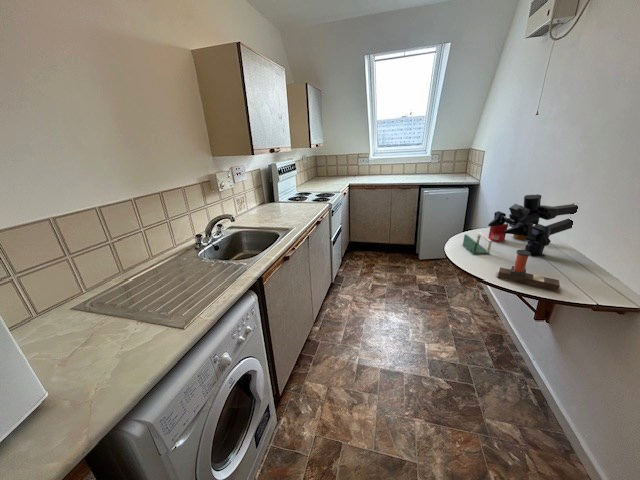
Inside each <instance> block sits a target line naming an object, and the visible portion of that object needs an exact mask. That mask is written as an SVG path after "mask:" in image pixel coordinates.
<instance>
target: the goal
mask: <svg viewBox="0 0 640 480" xmlns="http://www.w3.org/2000/svg"><path fill="white" fill-rule="evenodd" d="M481 238H482V239H484V240H485V241H486V242H487V246H486V248H484V246H482V245H481V244H480V240H481ZM492 243H493V241H492V240H490V239H489V238H488V236H486V235H485V234H483V233H482V232H480V231H479V232H477V235H476V239H473V238H472V237H471V236H469V235H468V234H465V233H464V236H463V242H462V246H463V247H464V248H465V249H466V250H468V251H469V252H470V253H471V254H472V255H490V253H491V247H492Z"/></svg>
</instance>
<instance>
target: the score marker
mask: <svg viewBox="0 0 640 480" xmlns="http://www.w3.org/2000/svg"><path fill="white" fill-rule="evenodd" d="M516 254H517V255H516V258H515V262H514V265H511V268H510V269H511V273H510V275H515V276H519V277H523V278H525V276H526V273H527V268H526V265H527V262H528V259H529V257H530V256H531V255H530V254H531V253H530V252H529V251H526V250H525V249H517V250H516Z"/></svg>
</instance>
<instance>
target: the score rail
mask: <svg viewBox="0 0 640 480" xmlns="http://www.w3.org/2000/svg"><path fill="white" fill-rule="evenodd" d="M510 273H511V268H506V267H499V270H498V274H497V279H500V280H506V281H508V282H509V281H510V282H513V283H518V284H521V285H525V286H526V285H527V286H530V287H533V288H534V287H535V288H538V289H542V290H547V291H551V292H555V293H558V292H559V289H560V287H561V285H560V283H561V282H560V280H559V279H556V278H551V277H546V276H543V275H540V274H534V273H529V272H526V276H525V278H523V277H519V276H515V275H510Z"/></svg>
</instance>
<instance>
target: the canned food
mask: <svg viewBox="0 0 640 480" xmlns="http://www.w3.org/2000/svg"><path fill="white" fill-rule="evenodd" d="M493 220H494V219H492V220H491V221H493ZM508 227H509V223H506V222H505V223H504V224H503V225H500V226H489V232H488V236H487V238H489V239H490V240H492V242H495V243H502V242H504V241H505V239H506V235H507V234H506V233H504V231H505V230H507V229H509V228H508Z"/></svg>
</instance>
